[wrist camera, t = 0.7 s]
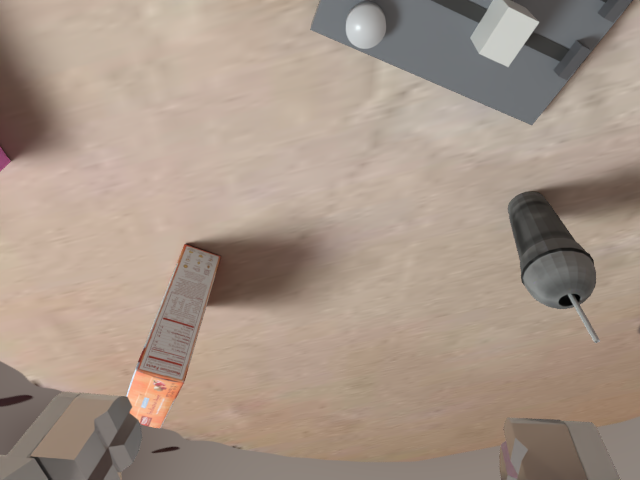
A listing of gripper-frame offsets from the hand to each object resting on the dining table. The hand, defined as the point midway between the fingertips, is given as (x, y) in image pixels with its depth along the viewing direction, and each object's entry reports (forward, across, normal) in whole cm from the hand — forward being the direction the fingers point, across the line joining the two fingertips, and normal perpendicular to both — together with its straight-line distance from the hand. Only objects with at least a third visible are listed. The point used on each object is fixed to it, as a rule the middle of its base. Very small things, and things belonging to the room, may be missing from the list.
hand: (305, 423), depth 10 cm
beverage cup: (+48, -18, +18) cm, 55 cm away
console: (+42, -9, -7) cm, 43 cm away
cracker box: (+48, +30, +29) cm, 63 cm away
